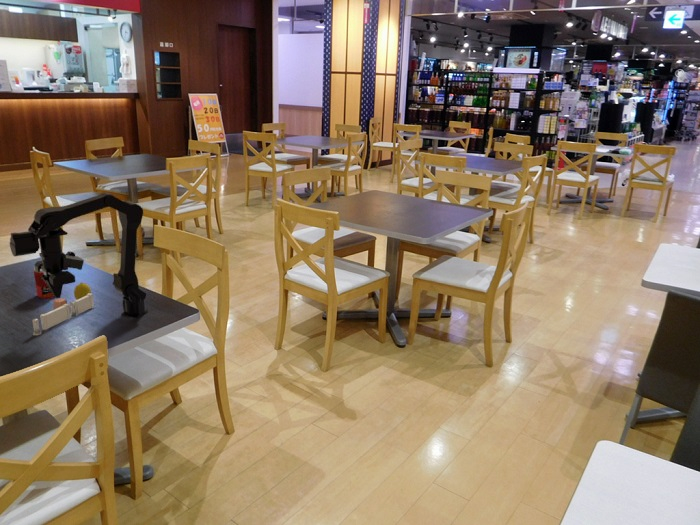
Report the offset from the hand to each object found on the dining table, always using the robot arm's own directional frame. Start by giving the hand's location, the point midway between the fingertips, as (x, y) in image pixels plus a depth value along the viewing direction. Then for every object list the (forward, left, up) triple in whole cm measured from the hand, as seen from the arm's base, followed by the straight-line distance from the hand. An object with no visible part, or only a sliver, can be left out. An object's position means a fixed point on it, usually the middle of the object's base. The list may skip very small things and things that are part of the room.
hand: (57, 297), depth 171 cm
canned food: (+28, -22, -12) cm, 38 cm away
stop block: (+15, -14, -12) cm, 24 cm away
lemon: (+11, -21, -12) cm, 27 cm away
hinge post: (+6, -11, -12) cm, 17 cm away
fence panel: (+6, -16, -12) cm, 21 cm away
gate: (+6, -4, -12) cm, 13 cm away
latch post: (+6, +4, -12) cm, 14 cm away
